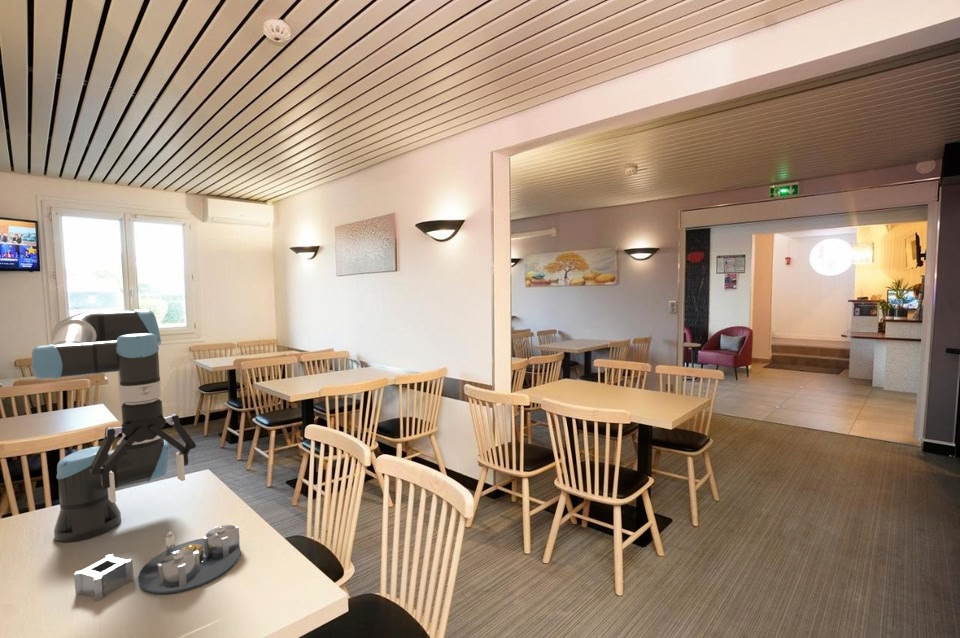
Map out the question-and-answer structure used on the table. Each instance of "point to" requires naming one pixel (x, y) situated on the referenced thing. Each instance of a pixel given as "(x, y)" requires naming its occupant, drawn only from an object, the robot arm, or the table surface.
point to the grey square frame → (103, 576)
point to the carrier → (191, 562)
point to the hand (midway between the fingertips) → (148, 489)
